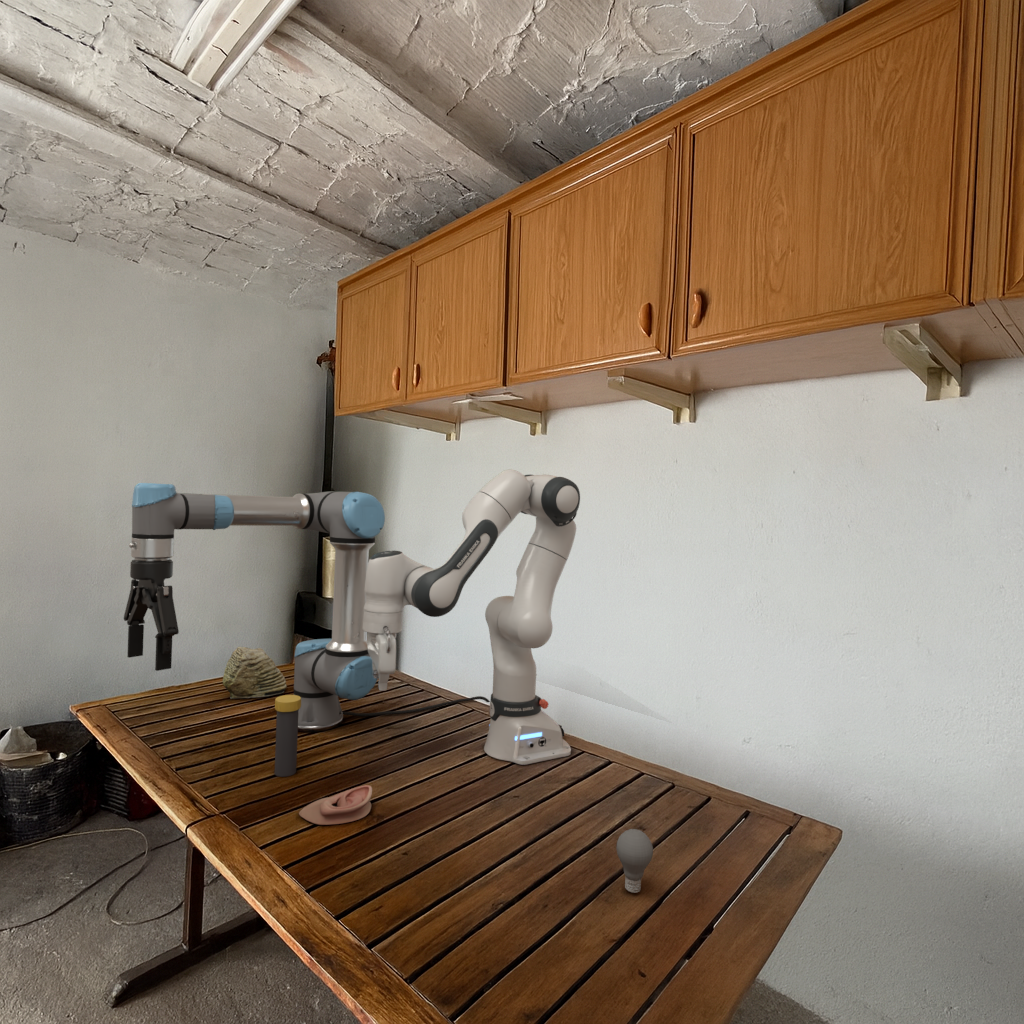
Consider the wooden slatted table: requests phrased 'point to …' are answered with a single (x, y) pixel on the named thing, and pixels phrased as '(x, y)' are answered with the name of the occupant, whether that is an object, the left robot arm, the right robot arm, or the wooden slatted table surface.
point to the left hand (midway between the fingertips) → (148, 662)
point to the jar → (286, 743)
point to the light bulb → (634, 857)
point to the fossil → (252, 674)
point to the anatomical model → (339, 807)
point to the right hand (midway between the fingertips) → (379, 683)
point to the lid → (287, 703)
